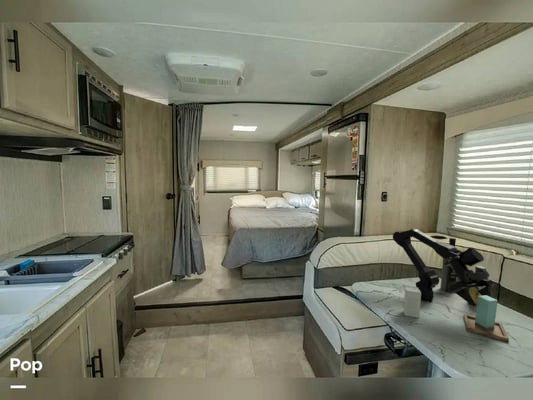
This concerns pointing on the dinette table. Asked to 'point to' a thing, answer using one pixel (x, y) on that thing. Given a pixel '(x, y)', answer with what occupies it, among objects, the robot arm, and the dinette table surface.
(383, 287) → the dinette table surface
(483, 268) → the sauce bottle
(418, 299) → the skincare box
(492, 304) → the teal block
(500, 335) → the walnut tray
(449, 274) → the wine bottle
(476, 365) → the dinette table surface
